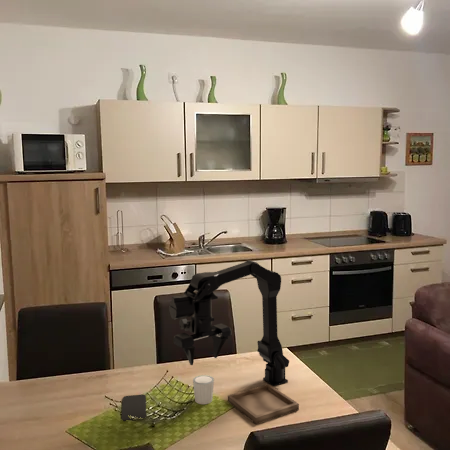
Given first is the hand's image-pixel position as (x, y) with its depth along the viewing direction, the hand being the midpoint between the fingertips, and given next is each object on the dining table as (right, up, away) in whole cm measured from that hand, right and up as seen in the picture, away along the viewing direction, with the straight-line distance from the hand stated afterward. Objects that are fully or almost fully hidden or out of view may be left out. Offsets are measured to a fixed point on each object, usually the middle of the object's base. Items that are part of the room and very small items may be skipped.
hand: (203, 361), depth 152 cm
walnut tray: (+19, -13, -2) cm, 23 cm away
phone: (-22, -14, -3) cm, 26 cm away
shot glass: (0, -13, +2) cm, 13 cm away
